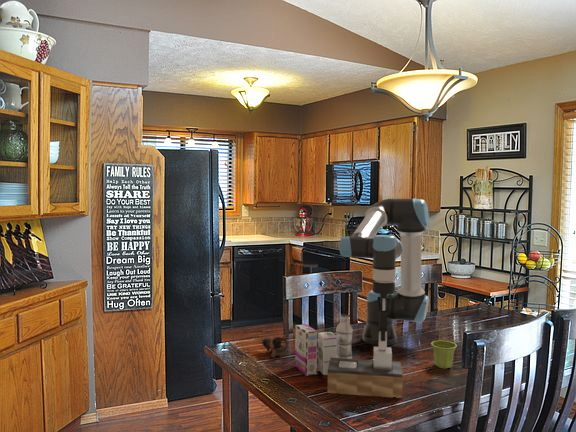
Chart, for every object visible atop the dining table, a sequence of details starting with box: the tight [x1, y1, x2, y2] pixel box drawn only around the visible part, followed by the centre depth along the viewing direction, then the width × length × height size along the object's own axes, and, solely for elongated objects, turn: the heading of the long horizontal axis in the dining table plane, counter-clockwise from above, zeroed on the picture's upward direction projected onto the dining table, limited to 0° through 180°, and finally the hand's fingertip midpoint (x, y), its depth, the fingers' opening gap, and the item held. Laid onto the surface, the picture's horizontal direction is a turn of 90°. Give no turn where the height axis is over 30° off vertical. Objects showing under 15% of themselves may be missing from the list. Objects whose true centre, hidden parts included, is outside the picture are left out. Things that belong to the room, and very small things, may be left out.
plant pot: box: [430, 340, 457, 370], centre depth 195 cm, size 9×9×9 cm
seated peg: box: [338, 361, 357, 369], centre depth 174 cm, size 6×6×8 cm
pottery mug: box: [261, 335, 290, 358], centre depth 208 cm, size 12×10×8 cm
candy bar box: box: [294, 323, 319, 377], centre depth 190 cm, size 11×5×16 cm, turn 22°
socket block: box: [327, 358, 404, 399], centre depth 173 cm, size 12×25×8 cm, turn 81°
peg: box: [372, 346, 393, 371], centre depth 172 cm, size 6×6×8 cm
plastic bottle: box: [335, 314, 354, 359], centre depth 193 cm, size 6×7×20 cm
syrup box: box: [317, 331, 338, 376], centre depth 188 cm, size 6×6×14 cm
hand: (382, 349), depth 172 cm, fingers closed
